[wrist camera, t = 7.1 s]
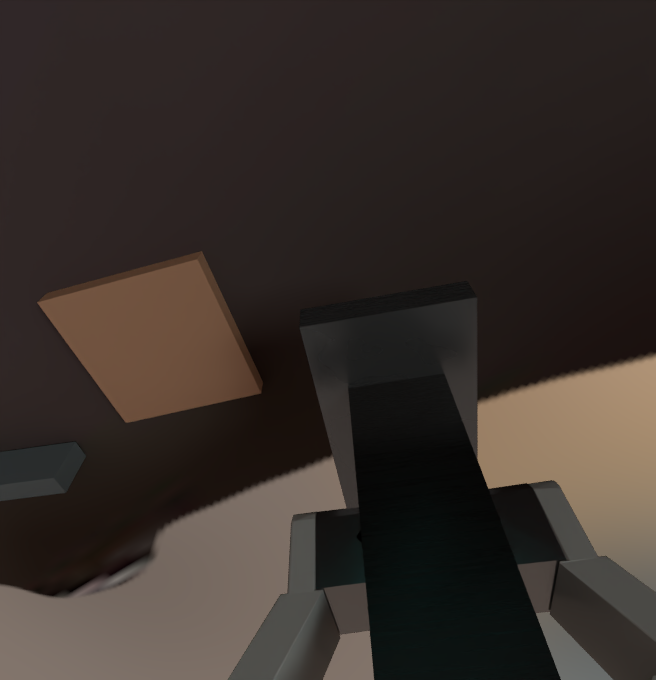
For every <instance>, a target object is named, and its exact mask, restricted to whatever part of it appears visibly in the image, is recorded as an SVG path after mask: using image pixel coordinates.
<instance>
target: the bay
mask: <svg viewBox="0 0 656 680" xmlns="http://www.w3.org/2000/svg"><path fill="white" fill-rule="evenodd" d="M85 457H86V455H85V454H84V453H83V451H82V450H81V448H80V447H79V446H78V444H77V443H76V442H69V443H62V444H55V445H48V446H40V447H33V448H26V449H19V450H12V451H5V452H0V501H5V500H13V499H20V498H28V497H36V496H44V495H52V494H60V493H66V492H67V490H68V488H69V486H70V485H71V483H72V481H73V479H74V477H75V475H76V474H77V472H78V470H79V468H80V466H81V465H82V463H83V461H84V459H85Z"/></svg>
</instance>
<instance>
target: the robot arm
mask: <svg viewBox="0 0 656 680" xmlns="http://www.w3.org/2000/svg"><path fill="white" fill-rule="evenodd" d="M489 492H490V495H491V497H492V500H493V503H494V505H495V508H496V510H497V513H498V516H499V518H500V521H501V524H502V526H503V529H504V532H505V534H506V537H507V539H508V542H509V545H510V547H511V550H512V553H513V555H514V558H515V560H516V563H517V566H518V568H519V571H520V574H521V576H522V579H523V581H524V584H525V587H526V589H527V592H528V595H529V597H530V600H531V603H532V605H533V608H534V610H535V613H539V612H550V615H551V616H552V617H553V618H554V619H555V620H556V621H557V622H558V623H559V624H560V625H561V626H562V627H563V628H564V629H565V630H566V631H567V632H568V633H569V634H570V635H571V636H572V637H573V638H574V639H575V640H576V641H577V642H578V644H579V645H580V646H581V647H582V648H583V649H584V650H585V651H586V652H587V653H588V654H589V655H590V656H591V657H592V658H593V659H594V660H595V661H596V662H597V663H598V664H599V665H600V666H601V667H602V668H603V669H604V670H605V671H606V672H607V673H608V674H609V675H610V676H611V678H613V680H656V592H654V591H653V590H652V589H650V588H649V587H648V586H646V585H645V584H644V583H642V582H641V581H639V580H638V579H637V578H635V577H634V576H633V575H631V574H630V573H628V572H627V571H626V570H624V569H623V568H622V567H620V566H619V565H618V564H616V563H615V562H614V561H612V560H611V559H609V558H608V557H607V556H601V557H598V556H597V554H596V552H595V551H594V548H593V546H592V545H591V543H590V541H589V539H588V537H587V536H586V534H585V532H584V530H583V528H582V526H581V525H580V523H579V521H578V519H577V517H576V515H575V514H574V512H573V510H572V508H571V506H570V504H569V503H568V501H567V499H566V497H565V495H564V493H563V492H562V490H561V488H560V486H559V485H558V484H557V483H556V482H555V481H552V480H551V481H544V482H538V483H531V484H527V483H526V484H519V485H512V486H505V487H499V488H492V489H489ZM369 630H370V626H369V615H368V604H367V593H366V582H365V571H364V560H363V549H362V537H361V526H360V515H359V507H355V508H347V509H338V510H330V511H321V512H311V513H304V514H297V515H293V519H292V523H291V537H290V556H289V575H288V593H287V594H281V595H280V596H279V598H278V599H277V601H276V603H275V604H274V606H273V607H272V609H271V611H270V612H269V614H268V616H267V617H266V619H265V620H264V622H263V624H262V625H261V627H260V628H259V630H258V632H257V633H256V635H255V637H254V638H253V640H252V641H251V643H250V645H249V646H248V648H247V650H246V651H245V653H244V654H243V656H242V658H241V659H240V661H239V663H238V664H237V666H236V667H235V669H234V670H233V672H232V674H231V675H230V677H229V679H228V680H323V677H324V675H325V672H326V670H327V668H328V665H329V663H330V661H331V658H332V656H333V654H334V651H335V649H336V647H337V644H338V642H339V639H340V634H347V633H355V632H362V631H369Z"/></svg>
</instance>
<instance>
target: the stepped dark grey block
mask: <svg viewBox="0 0 656 680" xmlns="http://www.w3.org/2000/svg"><path fill="white" fill-rule="evenodd" d="M299 328H300V331H301V335H302V339H303V343H304V347H305V350H306V354H307V358H308V362H309V366H310V370H311V373H312V377H313V381H314V385H315V389H316V392H317V396H318V400H319V404H320V408H321V412H322V415H323V419H324V423H325V427H326V431H327V435H328V438H329V442H330V446H331V450H332V454H333V457H334V461H335V465H336V469H337V473H338V477H339V480H340V484H341V488H342V492H343V496H344V499H345V503H346V507H347V508H355V507H359V515H360V526H361V537H362V549H363V560H364V571H365V582H366V593H367V604H368V615H369V626H370V637H371V648H372V659H373V669H374V680H561V679H560V676H559V674H558V671H557V669H556V666H555V663H554V660H553V658H552V655H551V652H550V650H549V647H548V645H547V642H546V639H545V637H544V634H543V631H542V629H541V626H540V624H539V621H538V619H537V616H536V613H535V610H534V608H533V605H532V603H531V600H530V597H529V595H528V592H527V589H526V587H525V584H524V581H523V579H522V576H521V574H520V571H519V568H518V566H517V563H516V560H515V558H514V555H513V553H512V550H511V547H510V545H509V542H508V539H507V537H506V534H505V532H504V529H503V526H502V524H501V521H500V518H499V516H498V513H497V510H496V508H495V505H494V503H493V500H492V497H491V495H490V492H489V489H488V487H487V484H486V482H485V479H484V476H483V474H482V471H481V468H480V466H479V463H478V461H477V296H476V295H475V293H474V291H473V290H472V288H471V287H470V285H469V283H468V282H467V281H464V282H459V283H453V284H447V285H441V286H435V287H430V288H424V289H418V290H412V291H407V292H401V293H395V294H389V295H383V296H378V297H372V298H366V299H360V300H354V301H349V302H343V303H337V304H331V305H326V306H320V307H314V308H308V309H302V310H300V327H299Z"/></svg>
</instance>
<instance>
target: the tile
mask: <svg viewBox="0 0 656 680" xmlns="http://www.w3.org/2000/svg"><path fill="white" fill-rule="evenodd" d="M37 303H38V304H39V306H40V307H41V308H42V310H43V311H44V312H45V314H46V315H47V317H48V318H49V319H50V321H51V322H52V323H53V325H54V326H55V327H56V329H57V330H58V332H59V333H60V334H61V336H62V337H63V338H64V340H65V341H66V342H67V344H68V345H69V346H70V348H71V349H72V351H73V352H74V353H75V355H76V356H77V357H78V359H79V360H80V361H81V363H82V364H83V365H84V367H85V368H86V370H87V371H88V372H89V374H90V375H91V376H92V378H93V379H94V380H95V382H96V383H97V385H98V386H99V387H100V389H101V390H102V391H103V393H104V394H105V395H106V397H107V398H108V399H109V401H110V402H111V404H112V405H113V406H114V408H115V409H116V410H117V412H118V413H119V414H120V416H121V417H122V418H123V420H124V421H125V423H128V422H133V421H137V420H142V419H146V418H151V417H155V416H160V415H165V414H169V413H174V412H178V411H183V410H188V409H192V408H197V407H201V406H206V405H210V404H215V403H220V402H224V401H229V400H233V399H238V398H242V397H247V396H252V395H256V394H261V392H262V386H263V381H262V379H261V377H260V375H259V372H258V370H257V368H256V366H255V364H254V362H253V360H252V357H251V355H250V353H249V351H248V349H247V347H246V345H245V343H244V340H243V338H242V336H241V334H240V332H239V330H238V328H237V325H236V323H235V321H234V319H233V317H232V315H231V313H230V310H229V308H228V306H227V304H226V302H225V300H224V298H223V296H222V293H221V291H220V289H219V287H218V285H217V283H216V281H215V278H214V276H213V274H212V272H211V270H210V268H209V266H208V263H207V261H206V259H205V257H204V255H203V253H202V251H201V252H197V253H193V254H189V255H186V256H182V257H178V258H175V259H171V260H167V261H164V262H160V263H156V264H153V265H149V266H145V267H141V268H138V269H134V270H130V271H127V272H123V273H119V274H116V275H112V276H108V277H105V278H101V279H97V280H93V281H90V282H86V283H82V284H79V285H75V286H71V287H68V288H64V289H60V290H57V291H53V292H49V293H47V294H45V295H44V296H43V297H42V298H41V299H40V300H39V301H38V302H37Z"/></svg>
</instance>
